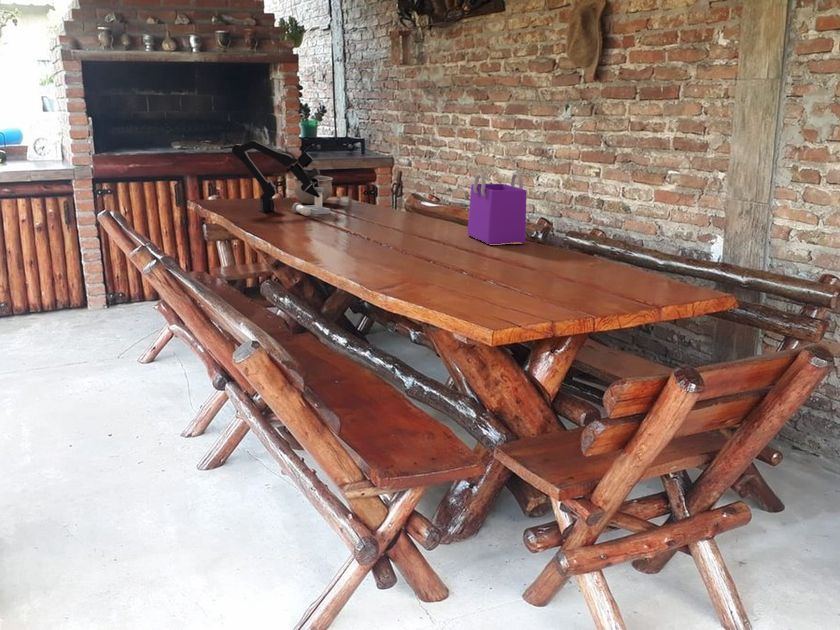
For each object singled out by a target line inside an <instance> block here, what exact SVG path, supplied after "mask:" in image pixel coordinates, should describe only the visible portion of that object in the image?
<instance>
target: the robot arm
mask: <svg viewBox="0 0 840 630" xmlns="http://www.w3.org/2000/svg"><path fill="white" fill-rule="evenodd" d="M253 149H254V150H256V151H258V152H260V153H262V154H264V155H267V156H269V157H270V158H273V160H275V161H277V162H278V163H280V164H281V165H282V166H284V167H286V172H285V173H286V174H290V173H291V174H292V175H293V177H296V178H297V180H298V181H300V182H301V183H302V184H303V185H302V186H301V190H302V191H305V189H306V191H305V192H307V193H309V194H311V195H314V196H316V197H318V198H319V197H320V195H319V194H318V193H317V191H316V190H315V187H319V181H318V180H319V179H318V178H317V177H314V176H321V171H320V170H319V168H316V167H314V168H312V171H309V172H308V171H307V170H305V169H303V168H308V167H309V166H310V165H311V164H312V163H313V162H314V158H313V157H312V156H311V155H310V154H309V153H308V152H306V151H305V150H304V151H303V152H302V153H301V155H299V156H298V157H294V156H292V155H291V154H289V153H286V152H281V151H277V150H275V149H273V148H271V147H269V146H267V145H265V144H263V143H260V142H259V141H257V140H255V139H254V140H251V141H249V142H246V143H243V144H241V143H236V144H234V145H233V146H232V148H231V153H232V155H234V156H235V158H237V159H238V160H240V162H242V164H244V166H245V167H246V169H247V170H248V171H249V172H250V174H251V175H252V176H253V178H255V180H256V181H257V183H259V185H260V188H261V190H262V192H263V193H262V194H261V195H260V197H259V198H260V200H259V209H258V211H259V212H262V213H272V212H273V213H275V212H276V210H275V202H274V199H273V197H274V196H275V195H276V194H277V188H276V187H277V186H276V185H275V184H274V183H273V181H272V180H269V181H268V180H267V179H266V177H264V175H263V173H261V171H260V170H259V169H258V167H257V166H256V165H255V164H254V162H253V161H252V159H250V157H249V155H248V151H250V150H253ZM313 177H314V178H313ZM317 181H318V182H317ZM322 195H323V192H322Z"/></svg>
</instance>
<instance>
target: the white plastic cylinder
mask: <svg viewBox="0 0 840 630" xmlns="http://www.w3.org/2000/svg"><path fill="white" fill-rule="evenodd" d="M304 206H305V205H303V204H302V203H300V202H295V203H293V204H292V211H293V212H294V213H296V214H301V215H303V216H306V217H308V216H310V215H311V211H310V209H309V208H306V207H304Z"/></svg>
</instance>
